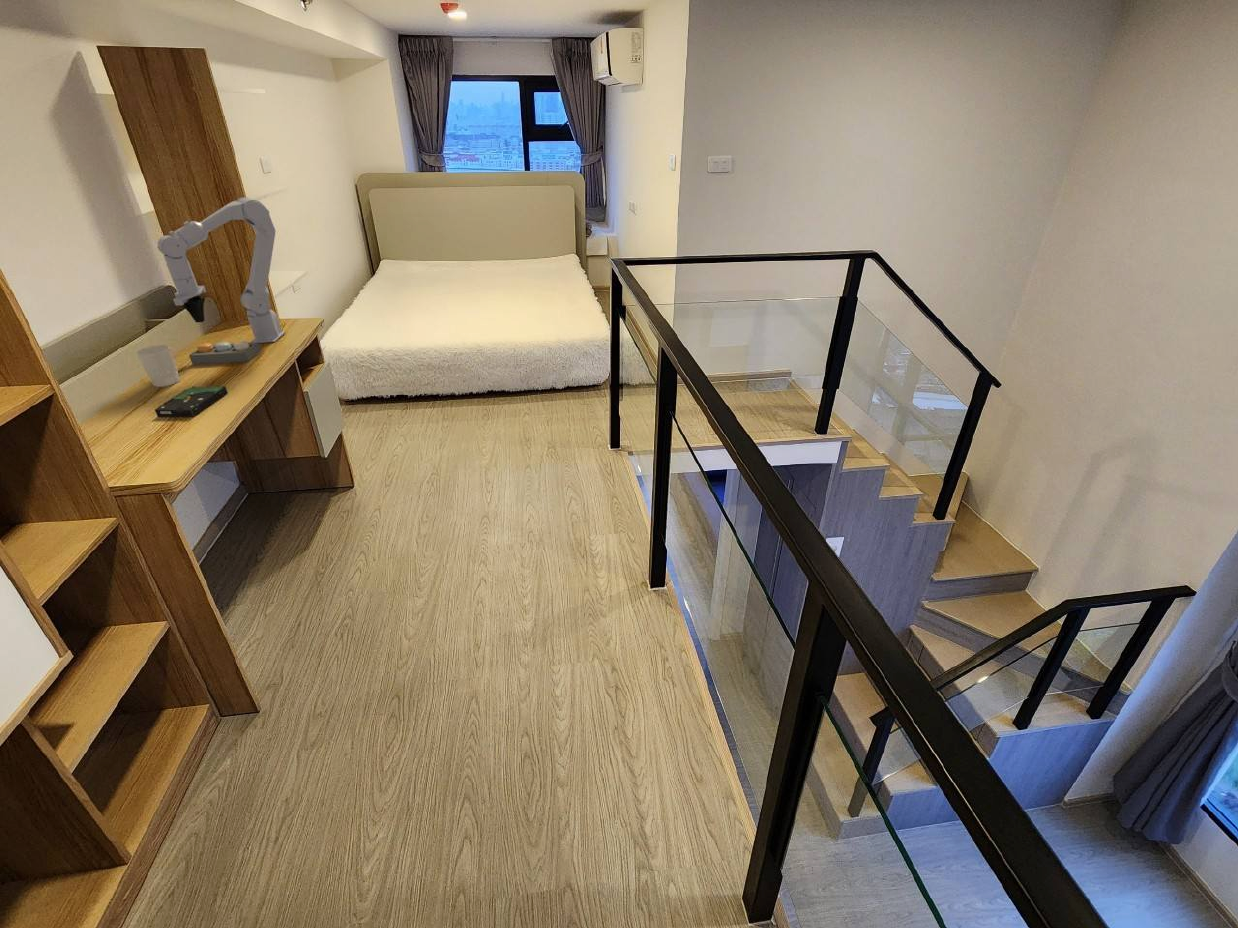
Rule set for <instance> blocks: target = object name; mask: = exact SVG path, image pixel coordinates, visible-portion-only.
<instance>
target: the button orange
mask: <svg viewBox="0 0 1238 928" xmlns="http://www.w3.org/2000/svg"><path fill="white" fill-rule="evenodd" d="M212 345H213V344H212V343H210V342H205V343H200V344H199V345H197V349H198V350H199V353H200V352H211V351H212V350H214V348H213V346H212Z"/></svg>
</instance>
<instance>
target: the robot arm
mask: <svg viewBox="0 0 1238 928" xmlns="http://www.w3.org/2000/svg"><path fill="white" fill-rule="evenodd" d="M232 220H234V221H235V220H238V221H240V220H241V221H246V222H247V223H249V225H250V227H252V228H253V230H254V231H255V233H256V234H255V238H254V239H255V240H254V246H253V253H252V260H251V266H250V271H249V272H250V273H249V279H248V282H247V284H246V285H245V289H244V291H243V293H242V294H241V296H240V300H239V301H240V303H241V305H242V306H243V307H244V308H245V309H246V317H247V319H248V322H249V325H250V328H251V331H252V334H253V337H254V338H253V339H252V340H251V341H250V343H251V342H258V343H259V344H261V343H262V344H263V343H265V344H266V343H276V342H277V341H278V340H279V339H280V338H282V336H283V335H285V334H286V331H283V330H282V327H281V323H280V320H279V317H278V315H277V313H276V312H275V311H274V310H272V309H271V306H272V305H271V301H270V292H269V288H268V283H269V278H270V271H271V264H272V256H273V250H274V245H275V244H274V243H275V238H276V227H275V226H274V224H273V221H272V219H271V216H270V211H269V209H268V208H267V207H266V206H265V205H264V204H263V203H262V202H261V201H259V200H257V199H251V198H249V197H240V198H238V199H237V200H234V201H233V200H232V201H230V202H229V203H227V204H226V205H224V206H223V207H221V208H220V209H217V210H216V211H215V212H213V213H212V214H211V215H208V216H207V217H206V218H204V219H203V220H201V221H200V222H199V221H195V220H191V221H190V222H189V221H185V222H183V226H181V227H180V228H178V229H176V230H174V231H173V230H170V231H169V232H168V233H169V235H163V236H161V237H160V238H159V239H158V241H157V249H158V251H159V252H160V253H161V254H163V258H164V260H165V262H166V267H167V269H168V272H169V274H170V276H171V279H172V282H173V284H174V287H175V289H176V292H174V296H175V298H173V303H174V305H175V307H176V306H181V307H183V308H184V309H185V310H186V311H187V312H188V314H189V315H190V316H191V317H192V320H194V322H195V323H204V322H205V311H204V309H205V306H204V305H205V300H206V299H205V296H203V295H201V294H204V293H207V291H206V286H205V285H198V282H197V280H196V277H195V274H194V272H193V270H192V267H191V264H190V261H189V260H188V257H187V255H186V253H187V250H190V249H192V248H194V247H196V246H197V245H199V244H200V243H202V242H204V241H205V240H207V239H208V235H209V232H211V231H213V230H215V229H216V228H219V227H221V226H223V225H225V224H226V223H229V222H230V221H232ZM200 295H201V296H200Z"/></svg>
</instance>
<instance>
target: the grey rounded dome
mask: <svg viewBox="0 0 1238 928" xmlns="http://www.w3.org/2000/svg"><path fill="white" fill-rule="evenodd" d="M230 344H231V343H230V342H228V341H224V342H219V343H216V345H215V346H216V349H217V351H218V352H219V351H229V350H230V349H232V348H231V345H230Z"/></svg>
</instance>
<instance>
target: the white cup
mask: <svg viewBox="0 0 1238 928" xmlns="http://www.w3.org/2000/svg"><path fill="white" fill-rule="evenodd" d="M136 355H137V357H138V359H139V361H140V363H141V365H142V367H143V369H144V371H145V372H146V374H147V377H149V378H150V382H151V383H152V385H153V386H154V387H157V388H163V387H168V386H171V385H174V384H177V383H179V382H180V381H181V377H180V374H179V372H178V366H177V364H176V361H175V358H174V355H173V353H172V350H171V347H170V346H169V345H167V344H156V345H150V346H146V347H143V348H140V349H138V350H137V351H136Z"/></svg>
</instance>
